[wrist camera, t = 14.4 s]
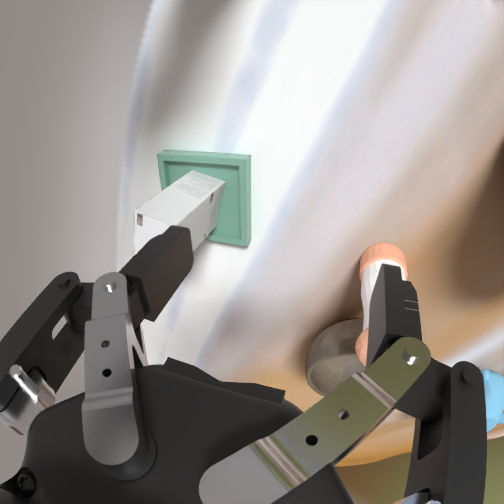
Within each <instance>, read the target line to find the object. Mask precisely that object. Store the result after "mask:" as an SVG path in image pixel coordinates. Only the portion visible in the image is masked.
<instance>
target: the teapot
mask: <svg viewBox="0 0 504 504" xmlns="http://www.w3.org/2000/svg"><path fill="white" fill-rule="evenodd" d="M481 373H482V375H483V379H484V388H485V401H486V420H487V432H488V431H490V430H491V429H493V428H494V427H495V426H496V424H499V423H504V414H502V412H503V409H504V377H503V376H501V375H500V374H498V373H496V372H493V371H489V370H488V369H483V370H482V371H481Z"/></svg>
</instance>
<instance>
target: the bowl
mask: <svg viewBox="0 0 504 504" xmlns="http://www.w3.org/2000/svg"><path fill="white" fill-rule="evenodd" d="M363 324H364V319H351V320H345V321H342V322H339V323H336V324H334V325H332V326H330V327H328V328H327V329H325V330H324V331H322V332H321V333H320V334H319V335H318V336H317V337H316V339H315V340H314V341H313V343H312V345H311V346H310V348H309V351H308V353H307V356H306V362H305V372H306V378H307V381H308V384H309V386H310V387H311V388H312V389H313V390H314V391H315V392H317V393H318V394H320V395H322V396H324V397H325V396H326V395H328V394H329V393H330V392H331V391H333V390H334V389H335V388H336V387H338V386H339V385H340V384H341V383H343V382H344V381H345V380H346V379H348V378H349V377H350V376H351V375H353V374H354V373H356V372H358V373H359V374H361V373H362V372H363V371H365V370H366V366H364V365H363V363H362V362H361V361H360V360H359V359H358V357H357V354H356V350H355V345H356V341H357V339H358V337H359V336H360V334H361V333H362V332H363Z"/></svg>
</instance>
